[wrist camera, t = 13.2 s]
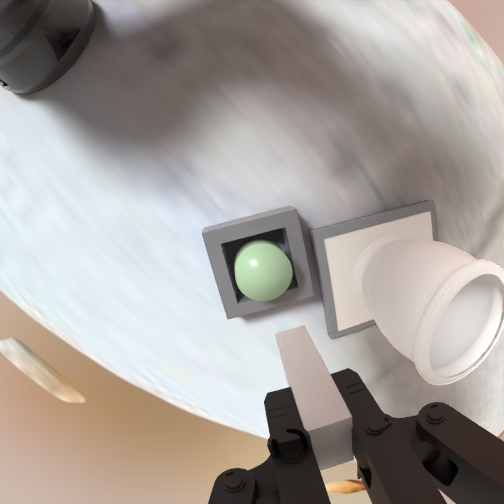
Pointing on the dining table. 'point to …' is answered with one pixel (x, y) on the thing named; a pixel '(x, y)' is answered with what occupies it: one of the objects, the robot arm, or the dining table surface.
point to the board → (347, 252)
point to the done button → (262, 270)
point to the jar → (432, 303)
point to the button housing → (248, 227)
